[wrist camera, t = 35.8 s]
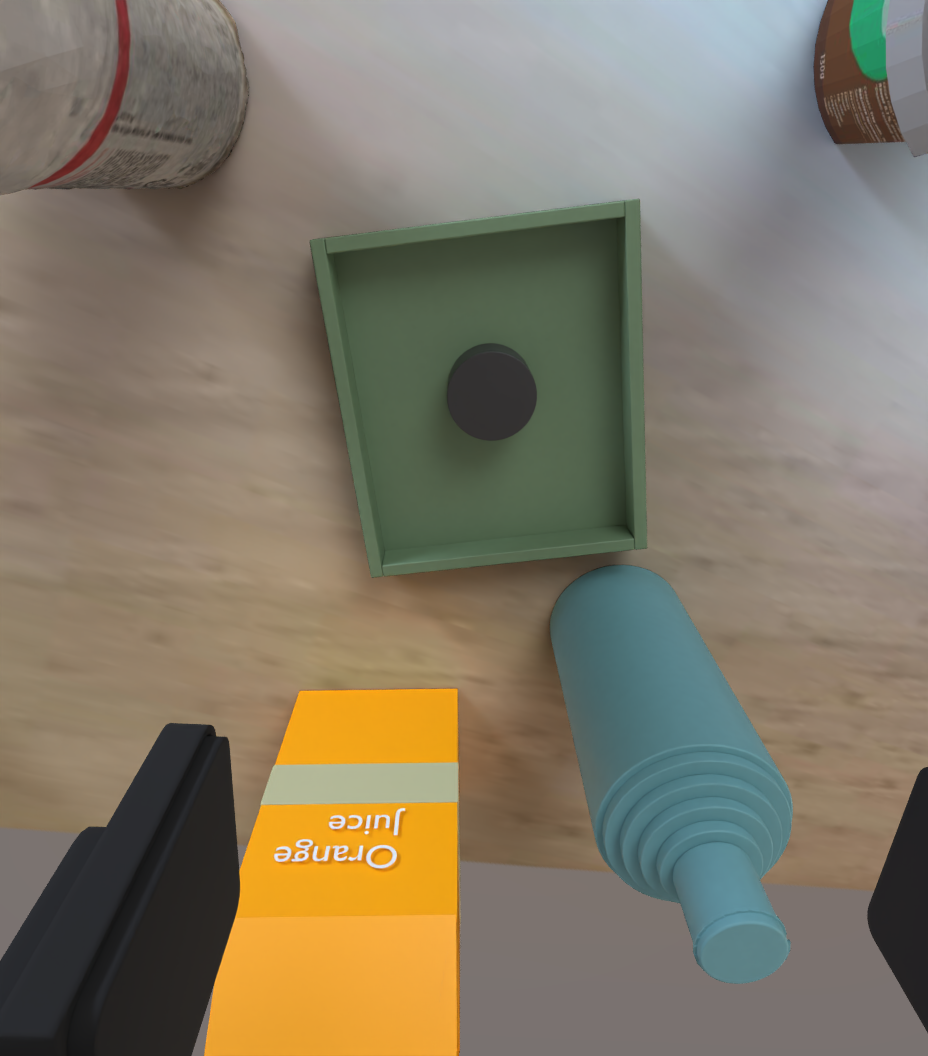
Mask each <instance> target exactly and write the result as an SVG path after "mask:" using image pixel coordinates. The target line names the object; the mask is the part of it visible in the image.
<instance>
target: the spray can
mask: <svg viewBox="0 0 928 1056" xmlns="http://www.w3.org/2000/svg"><path fill="white" fill-rule="evenodd" d="M248 89H249V84H248V80H247V77H246V68H245V65H244V56H243V53H242V51H241V46H240V42H239V37H238V32H237V28H236V23H235V21H234V19H233V18H232V16H231V15H230V13H229V12H228V10H227V9H226V8H225V6H224V5H223V4H222V3H221V2H220V0H0V195H4V194H10V193H13V192H17V191H21V190H24V189H44V188H50V189H72V188H95V189H110V188H123V189H138V188H149V189H156V188H178V189H182V188H183V187H184V186H186V187H187V186H189V185H191V184H193V183H195V182H197V181H199V180H202V179H203V178H204V177H205V176H207V175H209V174H211V173H213V172H214V171H216V170H217V169H218V168H219V167H220V166H221V164H222V162H223V161H224V159H227V158H228V157H229V155H230V152H231V151H232V146H233V147H234V144H235V143H236V140H237V137H238V136H239V134H240V131H241V128H242V125H243V119H244V117H245V110H246V104H247V101H248V96H249V94H248V93H249V92H248Z"/></svg>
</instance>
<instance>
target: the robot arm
mask: <svg viewBox="0 0 928 1056" xmlns="http://www.w3.org/2000/svg"><path fill="white" fill-rule="evenodd" d="M239 897H240V874H239V862H238V850H237V836H236V823H235V811H234V798H233V785H232V773H231V760H230V747H229V741H228V738H227V737H216V732H215V729H214V727H213V726H212V725H201V724H178V723H169V724H167V725H166V726H165V727H164V728H163V730H162V731H161V733H160V735H159V737H158V738H157V740H156V742H155V744H154V745H153V747H152V749H151V750H150V752H149V754H148V756H147V757H146V759H145V761H144V763H143V764H142V766H141V768H140V769H139V771H138V773H137V775H136V776H135V778H134V780H133V782H132V783H131V785H130V787H129V789H128V790H127V792H126V794H125V795H124V797H123V799H122V801H121V802H120V804H119V806H118V808H117V809H116V811H115V813H114V815H113V816H112V818H111V820H110V821H109V823H108V825H107V827H88V828H86V829H85V830H84V831H82V832H81V833H80V834H79V836H78V837H77V839H76V840H75V841H74V842H73V844H72V845H71V847H70V849H69V850H68V852H67V854H66V855H65V857H64V858H63V860H62V862H61V863H60V865H59V866H58V868H57V870H56V872H55V873H54V875H53V876H52V878H51V879H50V881H49V883H48V884H47V886H46V888H45V889H44V891H43V893H42V894H41V896H40V897H39V899H38V901H37V902H36V904H35V906H34V907H33V909H32V910H31V912H30V914H29V915H28V917H27V918H26V920H25V922H24V923H23V925H22V927H21V928H20V930H19V932H18V933H17V935H16V936H15V938H14V940H13V941H12V943H11V945H10V946H9V948H8V949H7V951H6V953H5V954H4V956H3V957H2V959H1V961H0V1056H191V1055H192V1052H193V1049H194V1046H195V1043H196V1039H197V1036H198V1033H199V1030H200V1027H201V1024H202V1021H203V1017H204V1014H205V1011H206V1008H207V1005H208V1002H209V999H210V995H211V992H212V989H213V986H214V983H215V980H216V977H217V973H218V970H219V967H220V964H221V961H222V958H223V955H224V951H225V948H226V945H227V942H228V939H229V936H230V933H231V929H232V926H233V923H234V920H235V917H236V913H237V909H238V904H239ZM868 924H869V928H870V932H871V934H872V936H873V938H874V941H875V942H876V944H877V946H878V947H879V949H880V951H881V952H882V954H883V956H884V958H885V960H886V961H887V963H888V965H889V966H890V968H891V970H892V972H893V973H894V975H895V977H896V979H897V980H898V982H899V984H900V985H901V987H902V989H903V991H904V992H905V994H906V996H907V998H908V999H909V1001H910V1003H911V1005H912V1006H913V1008H914V1010H915V1011H916V1013H917V1015H918V1017H919V1018H920V1020H921V1022H922V1023H923V1025H924V1027H925V1029H926V1031H927V1032H928V767H925V768H923V769H922V770H921V771H920V772H919V774H918V776H917V779H916V782H915V784H914V787H913V789H912V792H911V795H910V797H909V800H908V803H907V805H906V808H905V811H904V813H903V816H902V819H901V821H900V824H899V827H898V829H897V832H896V835H895V837H894V840H893V843H892V845H891V848H890V851H889V853H888V856H887V859H886V861H885V864H884V867H883V869H882V872H881V875H880V877H879V880H878V883H877V885H876V888H875V891H874V893H873V896H872V899H871V902H870V904H869V907H868Z"/></svg>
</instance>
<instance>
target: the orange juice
mask: <svg viewBox="0 0 928 1056" xmlns="http://www.w3.org/2000/svg"><path fill="white" fill-rule="evenodd" d="M260 805H261V808H260V811H259V814H258V817H257V820H256V823H255V826H254V829H253V832H252V835H251V838H250V841H249V844H248V847H247V850H246V853H245V856H244V859H243V862H242V865H241V868H240V870H239V874H240V897H239V904H238V909H237V913H236V917H235V920H234V923H233V926H232V929H231V933H230V936H229V939H228V942H227V945H226V948H225V951H224V955H223V958H222V961H221V964H220V967H219V970H218V973H217V977H216V980H215V983H214V990H213V997H212V1004H211V1011H210V1018H209V1025H208V1031H207V1039H206V1045H205V1052H204V1056H459V1053H460V954H459V953H460V951H459V949H460V942H459V941H460V940H459V939H460V935H459V933H460V920H461V915H460V913H461V911H460V833H459V745H458V689H396V690H322V691H300V692H299V695H298V698H297V701H296V703H295V706H294V709H293V712H292V715H291V718H290V721H289V724H288V727H287V730H286V733H285V736H284V739H283V742H282V745H281V748H280V751H279V754H278V757H277V760H276V763H275V765H274V766H273V769H272V771H271V774H270V777H269V780H268V783H267V786H266V789H265V792H264V795H263V798H262V801H261V804H260Z"/></svg>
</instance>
